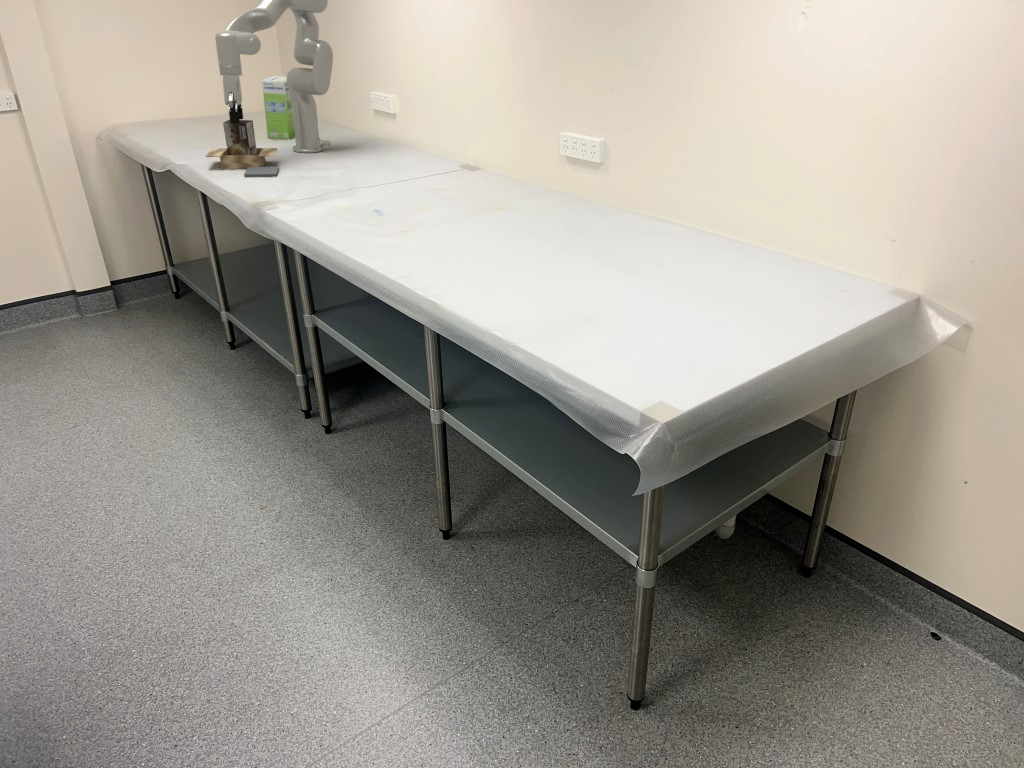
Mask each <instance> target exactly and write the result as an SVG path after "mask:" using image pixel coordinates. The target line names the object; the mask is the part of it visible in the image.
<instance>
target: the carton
mask: <svg viewBox="0 0 1024 768" xmlns="http://www.w3.org/2000/svg"><path fill="white" fill-rule="evenodd" d="M256 149H257V155H246V156H228V151H227V147H224V148H222V147H220V148H219V147H217V148H215V147H214V148H213V147H212V148H210V150H209V151H208V152H207V153H206V155H205V158H213V157H214V158H219V159H220V160H219V161H220V166H221V167H220V168H221V170H222V169H248V167H264V165H265V163H266V157H274V156H275V155H276V153H277V151H278V147H264V148H263V147H256Z"/></svg>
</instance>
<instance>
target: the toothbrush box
mask: <svg viewBox="0 0 1024 768" xmlns="http://www.w3.org/2000/svg"><path fill="white" fill-rule="evenodd" d="M261 84H262V94H263V105H264V112H265V113H264V114H265V123H266V133H267V139H272V138H277V139H276V140H287V139H290V138H291V139H292V137H293V136H294V137H295V129H294V120H293V111H292V102H291V96H290V92H289V89H288V85H287V75H273V76H270V77H267V78H264V79H263V80H261ZM294 137H293V138H294ZM291 139H290V140H291Z"/></svg>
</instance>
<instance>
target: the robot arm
mask: <svg viewBox="0 0 1024 768" xmlns="http://www.w3.org/2000/svg"><path fill="white" fill-rule="evenodd" d="M327 7H328V0H259V1H258V2H257V4H256V5H255V6H254V7H252V8H250V9H249V10H247V11H246V12H243V13H242V14H240V15H239V16H238V17H236V18H235V19H234V20H232V21H231V22H230V23H229V24H228V26H227V27H226V29H225V30H224V31H222V32H221V31H220V32H217V33H216V34H215V46H216V53H217V61H218V68H219V70H218V71H219V75H220V76H222V86H223V96H224V97H223V98H224V104H225V105H226V106H228V115H229V117H228V118H229V120H230V123H240V121H239V120H244V112H243V111H244V110H243V107H242V103H243V96H242V95H243V94H242V87H241V79H240V77H241V76H243V71H242V61H241V55H244V56H245V55H246V56H253V55H256V54H258V53H259V51H260V50H261V46H262V44H261V40H260V38H259V37H258V35H256V34H255V33H257V32H260V31H261V32H262V31H264V30H267V29H271V28H272V27H274V25H276V24H277V22H278V21H279V20H280V18H281V17H282V15H283V14H284V13H285V12H286V10H288V9H290V11H291V12H292V14H293V16H294V18H295V22H296V32H295V38H294V48H293V57H294V60H295V61H296V62H297V63H298V64H300V65H304V66H311V67H312V68H308V67H300V66H299V67H293V68H291V69H290V70H289V71H288V72H287V74H286V76H287V85H288V89H289V92H290V96H291V102H292V111H293V120H294V129H295V136H294V137H295V145H294V146H292V151H293V152H296V153H306V154H308V153H309V154H310V153H320V152H323V151H324V150H325V147H326V146H327V147H329V146H332V145H331V140H322V139H321V136H320V133H319V122H318V121H319V119H318V111H317V104H316V101H315V98H314V96H324V95H325V94H327V92H328V91H329V89H330V84H331V77H332V70H333V64H334V63H333V62H334V52H333V49H332V46H331V45H330V44H329V43H328V42H327V41H325V40H322V39H319V36H320V35H319V33H320V26H319V23H318V20H317V18H316V16H315V14H320V13H323V12H325V11H326V9H327ZM313 95H314V96H313ZM324 146H325V147H324ZM322 150H323V151H322Z"/></svg>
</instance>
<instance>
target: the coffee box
mask: <svg viewBox="0 0 1024 768" xmlns="http://www.w3.org/2000/svg"><path fill="white" fill-rule="evenodd" d="M239 121H240V123H230V119H228V120H225V121H223V122H222V125H223V131H224V132H223V133H224V136H225V143H226V148H227V151H228V156H246V155H257V149H256V148H257V141H256V136H255V128H254V121H253V120H250V119H239Z"/></svg>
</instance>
